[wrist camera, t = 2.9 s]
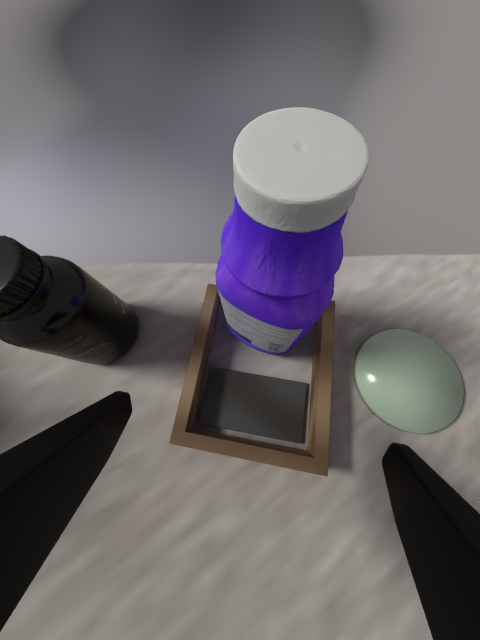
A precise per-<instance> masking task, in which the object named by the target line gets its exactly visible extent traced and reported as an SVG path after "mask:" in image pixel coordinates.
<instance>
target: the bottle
mask: <svg viewBox="0 0 480 640" xmlns="http://www.w3.org/2000/svg"><path fill="white" fill-rule="evenodd" d="M368 162H369V151H368V148H367V145H366V142H365V140H364V138H363V137H362V135H361V134H360V133H359V132H358V130H357V129H356V128H354V127H353V126H352V125H351V124H350V123H348V122H347V121H345V120H343V119H341V118H340V117H338V116H336V115H334V114H331V113H328V112H325V111H321V110H317V109H312V108H300V107H296V108H295V107H294V108H285V109H279V110H275V111H271V112H268V113H266V114H263V115H261V116H259V117H257V118H256V119H255V120H253V121H252V122H251V123H249V124H248V125H247V126H246V127H245V128H244V129H243V130H242V132H241V133H240V134H239V136H238V138H237V141H236V143H235V146H234V151H233V164H234V192H235V208H234V211H233V213H232V214H231V216H230V217H229V219H228V220H227V222H226V224H225V225H224V228H223V232H222V239H221V253H222V255H221V256H220V258H219V261H218V267H217V271H216V285H217V288H218V292H219V296H220V299H221V303H222V306H223V310H224V314H225V317H226V321H227V325H228V327H229V329H230V331H231V332H232V333H233V334H234V335H235V336H236V337H237V338H238V339H240V340H241V341H242V342H244V343H245V344H247V345H249V346H251V347H252V348H255V349H257V350H259V351H262V352H265V353H269V354H282V353H285V352H287V351H289V350H290V349H292V348H293V347H294V346H295V345H296V344H297V343H298V341H299V340H300V339H301V338H302V337H303V336H304V335H305V334H306V333H307V331H308V330H309V329H310V328H311V327H312V326H313V325H314V324H315V323H316V322H317V321H318V319H319V317H320V316H321V314H322V312H323V311H325V310H326V309H327V307H328V306H329V303H330V301H331V299H332V296H333V293H334V290H333V288H334V275H335V273H336V272H337V271H338V269H339V267H340V265H341V262H342V259H343V240H342V236H341V229H342V226H343V223H344V220H345V217H346V214H347V212H348V209H349V208H350V206H351V205H352V203H353V201H354V198H355V194H356V192H357V190H358V188H359V186H360V184H361V181H362V180H363V178H364V175H365V173H366V170H367V167H368Z"/></svg>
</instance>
